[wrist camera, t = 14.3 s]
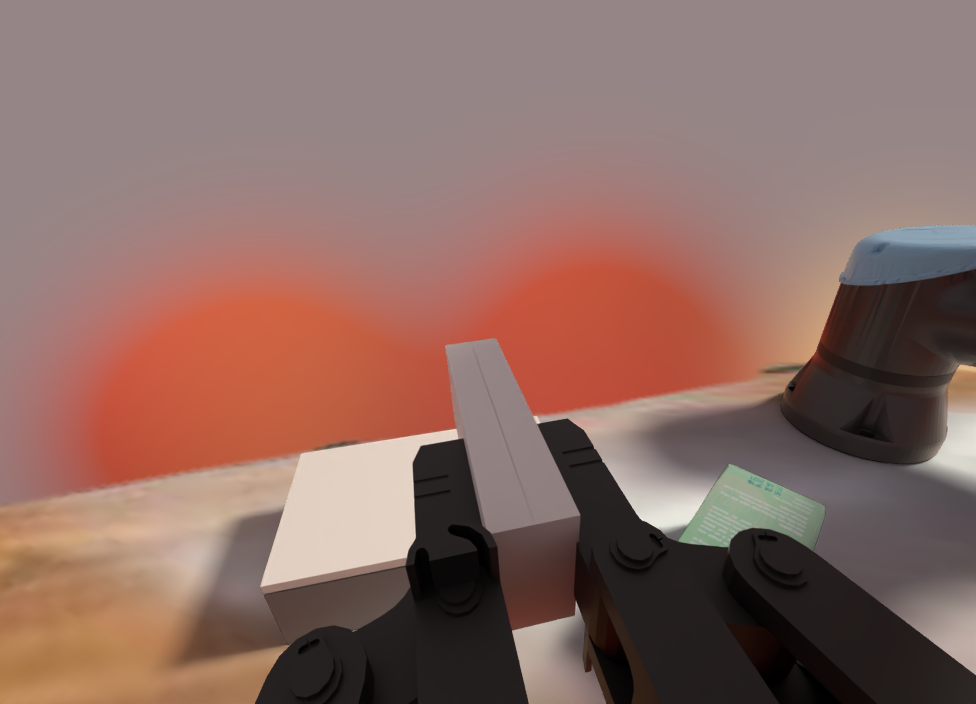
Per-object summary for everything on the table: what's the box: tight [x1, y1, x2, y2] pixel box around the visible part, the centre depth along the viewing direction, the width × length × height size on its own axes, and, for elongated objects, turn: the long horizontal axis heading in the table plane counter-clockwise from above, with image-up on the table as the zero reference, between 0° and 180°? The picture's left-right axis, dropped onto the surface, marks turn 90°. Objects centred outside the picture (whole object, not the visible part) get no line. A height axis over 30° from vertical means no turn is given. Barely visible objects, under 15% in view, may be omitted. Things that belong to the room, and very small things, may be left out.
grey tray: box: [264, 566, 410, 645], centre depth 38 cm, size 24×14×6 cm, turn 101°
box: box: [678, 464, 826, 551], centre depth 32 cm, size 7×14×8 cm, turn 136°
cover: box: [260, 416, 540, 594], centre depth 37 cm, size 24×14×1 cm, turn 101°
